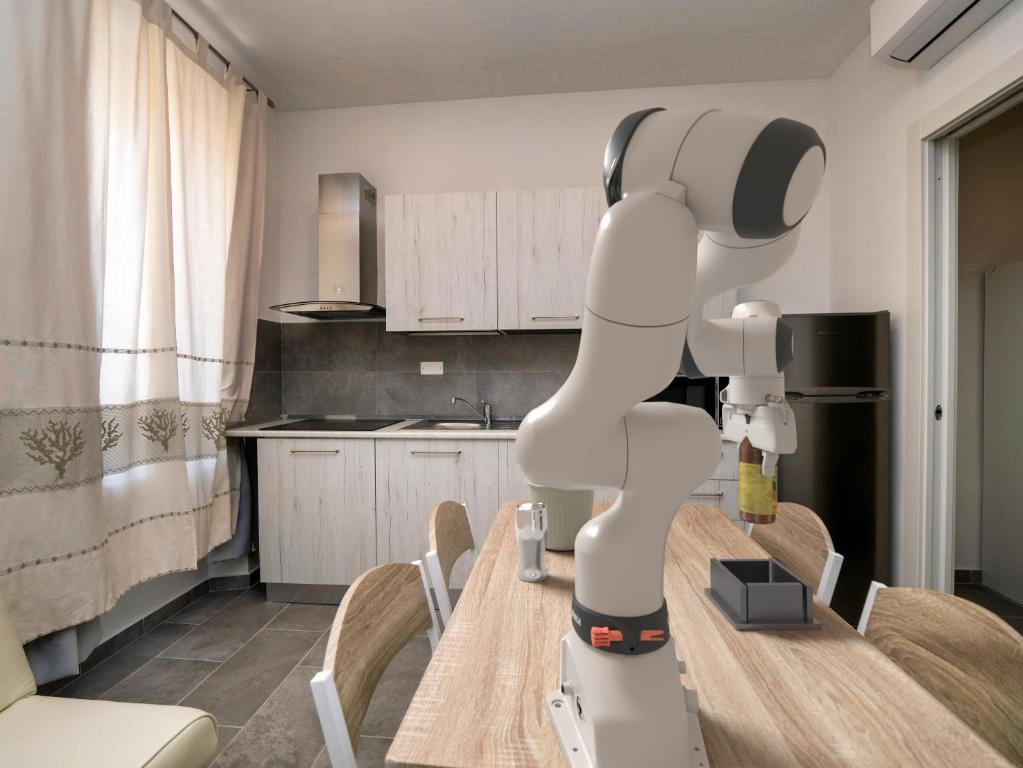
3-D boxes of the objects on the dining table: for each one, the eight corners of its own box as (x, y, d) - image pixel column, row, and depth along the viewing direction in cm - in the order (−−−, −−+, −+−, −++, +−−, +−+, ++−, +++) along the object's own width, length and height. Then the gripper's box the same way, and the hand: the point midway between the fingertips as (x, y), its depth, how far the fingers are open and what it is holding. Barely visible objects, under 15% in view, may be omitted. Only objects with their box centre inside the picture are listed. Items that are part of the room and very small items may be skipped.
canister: (603, 557, 117) (602, 467, 117) (526, 557, 118) (524, 467, 117) (592, 532, 135) (591, 454, 135) (525, 533, 136) (524, 455, 135)
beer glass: (555, 575, 107) (554, 505, 106) (534, 586, 102) (533, 512, 101) (530, 567, 111) (529, 500, 111) (509, 577, 106) (507, 506, 106)
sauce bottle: (781, 527, 86) (783, 411, 85) (742, 525, 87) (744, 411, 86) (770, 515, 92) (771, 407, 91) (733, 513, 94) (735, 407, 93)
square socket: (821, 629, 83) (820, 587, 83) (735, 630, 83) (735, 588, 83) (777, 592, 97) (777, 556, 97) (704, 593, 97) (704, 557, 97)
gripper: (808, 396, 79) (808, 484, 79) (748, 392, 99) (748, 462, 100) (767, 396, 79) (768, 484, 79) (716, 392, 100) (716, 462, 100)
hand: (756, 471), depth 90 cm, fingers closed on sauce bottle, 6 cm apart
